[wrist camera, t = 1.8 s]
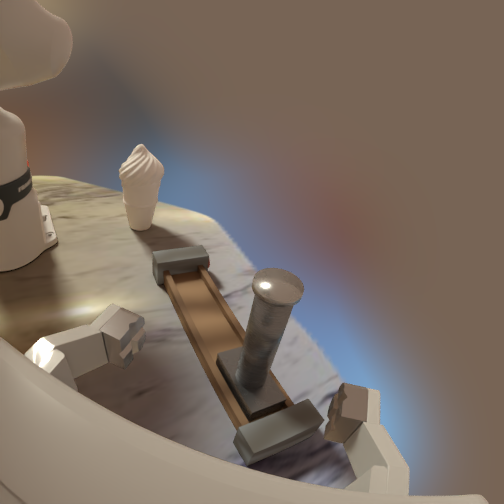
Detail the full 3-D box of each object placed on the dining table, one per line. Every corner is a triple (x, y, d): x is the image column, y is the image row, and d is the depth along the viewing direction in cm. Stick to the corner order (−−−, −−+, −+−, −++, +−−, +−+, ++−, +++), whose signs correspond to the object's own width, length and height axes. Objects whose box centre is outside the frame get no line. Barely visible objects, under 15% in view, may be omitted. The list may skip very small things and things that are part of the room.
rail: (152, 272, 48) (152, 251, 46) (202, 265, 52) (204, 244, 50) (246, 465, 26) (254, 453, 24) (314, 434, 30) (327, 418, 28)
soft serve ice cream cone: (168, 231, 59) (174, 149, 50) (127, 240, 54) (127, 154, 45) (151, 212, 64) (155, 137, 55) (113, 219, 59) (113, 141, 50)
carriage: (215, 363, 34) (233, 257, 26) (246, 354, 36) (274, 251, 28) (248, 421, 29) (285, 325, 21) (281, 408, 31) (329, 311, 23)
